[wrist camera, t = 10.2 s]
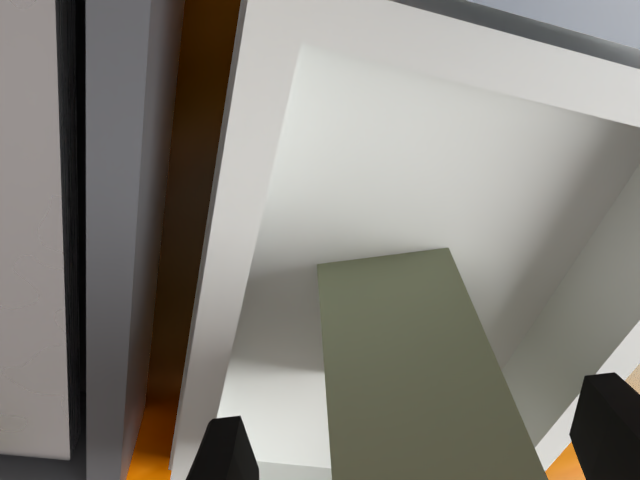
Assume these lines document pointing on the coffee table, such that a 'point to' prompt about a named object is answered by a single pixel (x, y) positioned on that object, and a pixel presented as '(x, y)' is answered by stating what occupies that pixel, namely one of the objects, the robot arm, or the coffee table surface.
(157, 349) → the coffee table surface
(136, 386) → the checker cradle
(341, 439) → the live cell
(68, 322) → the grey rectangular panel
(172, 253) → the coffee table surface
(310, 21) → the board
